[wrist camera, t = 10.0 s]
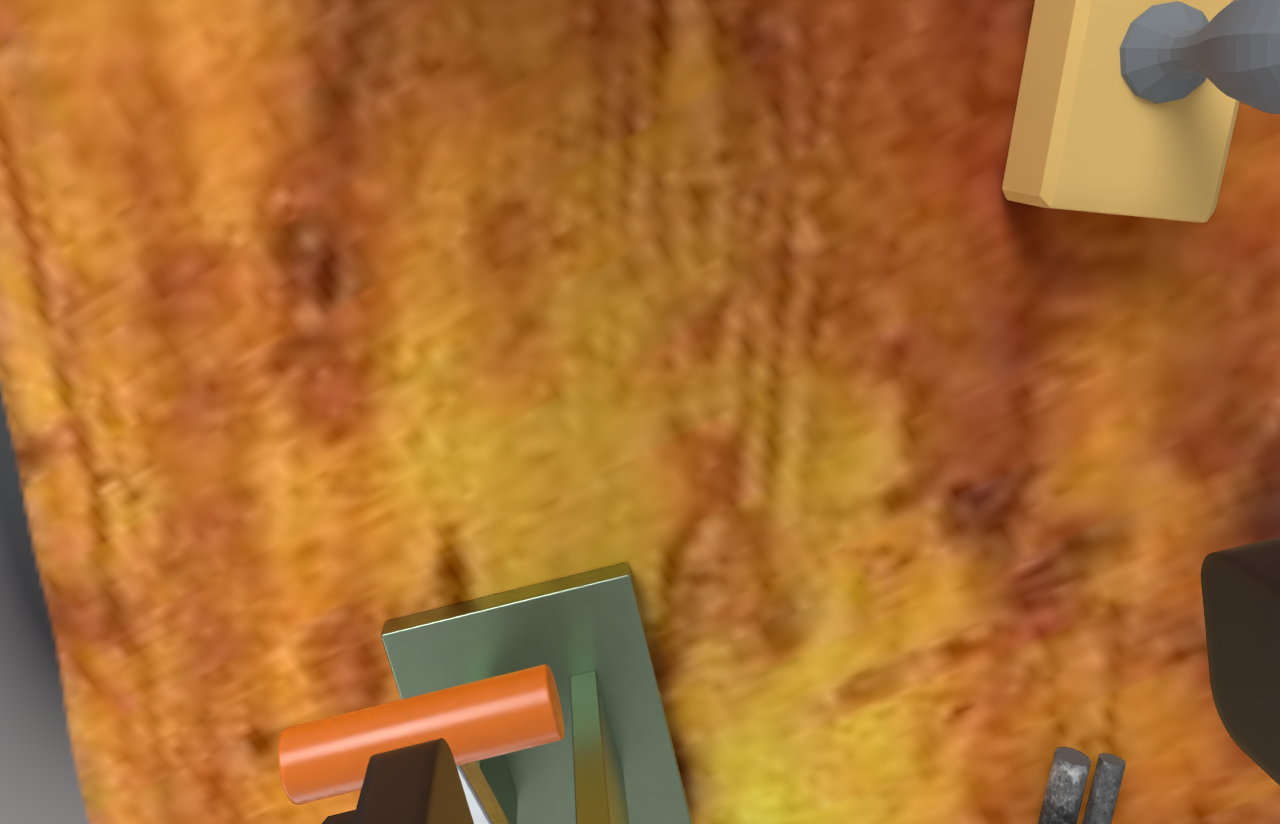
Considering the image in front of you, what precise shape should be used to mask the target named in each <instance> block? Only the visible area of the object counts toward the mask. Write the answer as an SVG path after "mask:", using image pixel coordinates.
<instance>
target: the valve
mask: <svg viewBox="0 0 1280 824" xmlns="http://www.w3.org/2000/svg"><path fill="white" fill-rule="evenodd" d="M1090 764H1091V761H1090V759H1089V757H1088V756H1086V755H1085V754H1083V753H1082V752H1080V751H1078V750H1075V749H1073V748H1068V747H1059V748H1057V749H1056V751H1055V754H1054V759H1053V763H1052V767H1051V772H1050V776H1049V780H1048V784H1047V789H1046V793H1045V797H1044V801H1043V806H1042V810H1041V814H1040V818H1039V823H1038V824H1076V822H1077V818H1078V814H1079V810H1080V806H1081V802H1082V797H1083V793H1084V789H1085V785H1086V781H1087V777H1088V773H1089V768H1090ZM1124 768H1125V761H1124V760H1123V759H1121V758H1120V757H1118V756H1115V755H1113V754H1108V753H1102V754H1099V758H1098V762H1097V766H1096V770H1095V774H1094V778H1093V783H1092V787H1091V791H1090V795H1089V799H1088V803H1087V807H1086V811H1085V815H1084V820H1083V824H1111V821H1112V817H1113V813H1114V809H1115V805H1116V801H1117V797H1118V793H1119V789H1120V785H1121V780H1122V776H1123V772H1124Z"/></svg>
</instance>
